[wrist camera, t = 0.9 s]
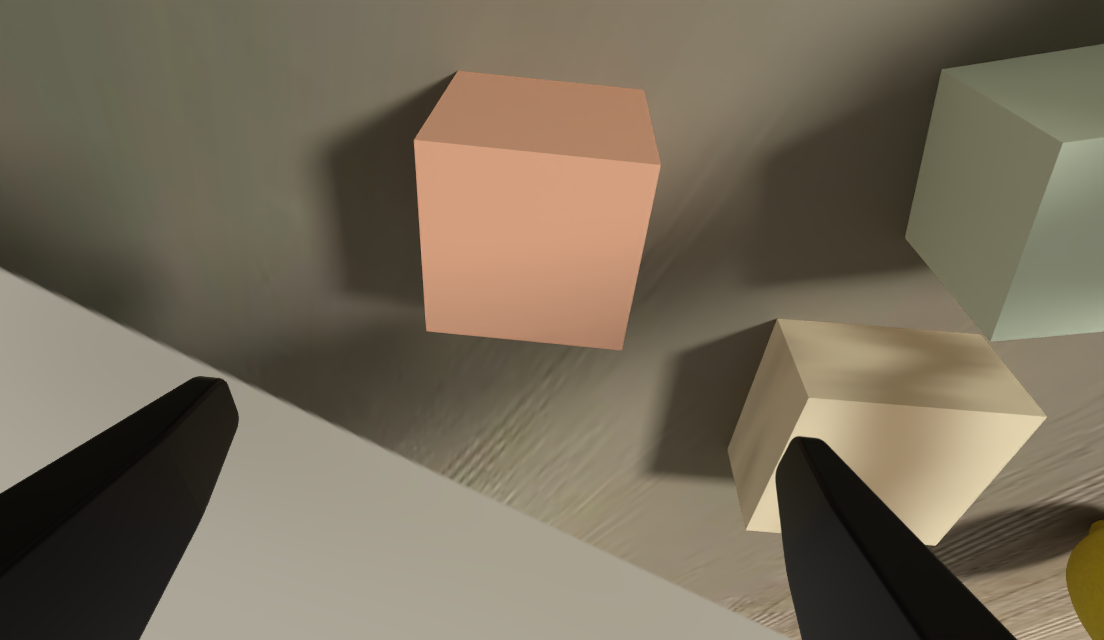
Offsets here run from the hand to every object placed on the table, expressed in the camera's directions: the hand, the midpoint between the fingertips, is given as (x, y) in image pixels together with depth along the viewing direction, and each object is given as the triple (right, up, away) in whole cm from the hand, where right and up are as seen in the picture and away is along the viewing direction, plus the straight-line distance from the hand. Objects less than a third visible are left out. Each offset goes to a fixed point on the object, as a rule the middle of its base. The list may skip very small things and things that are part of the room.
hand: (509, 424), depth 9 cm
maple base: (+12, -1, +13) cm, 18 cm away
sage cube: (+14, +6, +7) cm, 16 cm away
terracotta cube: (0, +6, +8) cm, 10 cm away
